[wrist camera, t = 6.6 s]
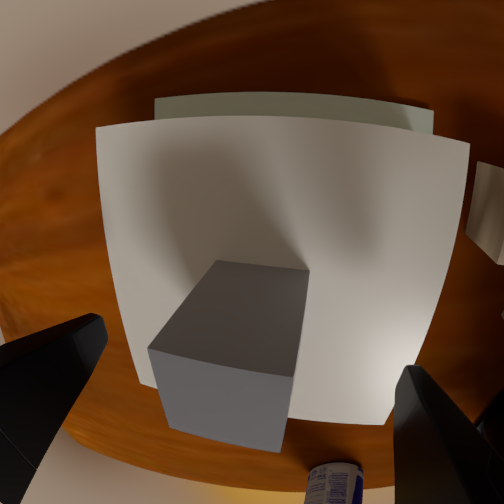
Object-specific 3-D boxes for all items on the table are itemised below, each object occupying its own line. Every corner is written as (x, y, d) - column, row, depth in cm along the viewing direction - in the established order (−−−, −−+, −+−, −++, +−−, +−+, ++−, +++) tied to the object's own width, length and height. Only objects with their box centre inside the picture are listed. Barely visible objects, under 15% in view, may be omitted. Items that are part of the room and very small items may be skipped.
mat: (381, 360, 17) (382, 364, 17) (175, 332, 20) (173, 335, 20) (430, 111, 12) (433, 110, 11) (158, 99, 14) (154, 98, 14)
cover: (374, 345, 17) (385, 508, 7) (185, 320, 19) (96, 447, 10) (414, 136, 12) (570, 167, 3) (172, 123, 14) (-11, 145, 5)
